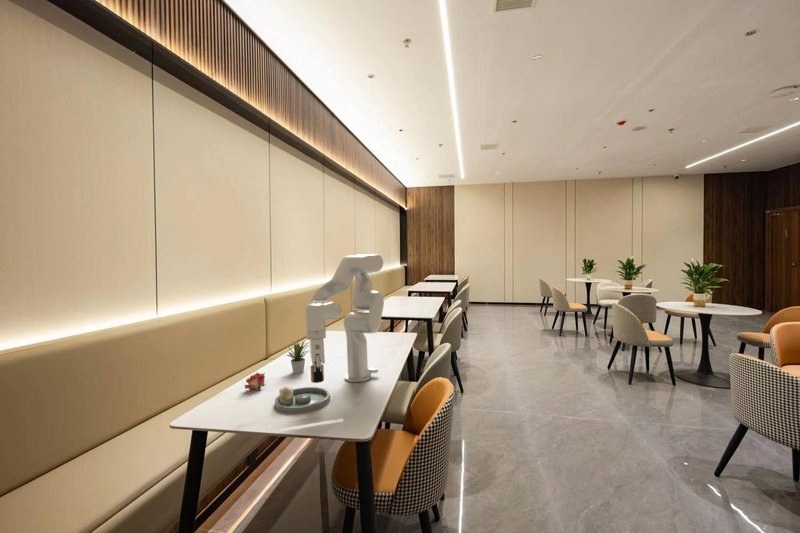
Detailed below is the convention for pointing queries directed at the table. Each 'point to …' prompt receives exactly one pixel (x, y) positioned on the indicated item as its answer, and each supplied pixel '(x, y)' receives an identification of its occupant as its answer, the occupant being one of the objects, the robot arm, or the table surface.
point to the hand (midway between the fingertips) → (317, 379)
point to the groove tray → (305, 400)
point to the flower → (255, 381)
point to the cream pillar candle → (286, 396)
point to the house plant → (298, 357)
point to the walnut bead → (313, 373)
